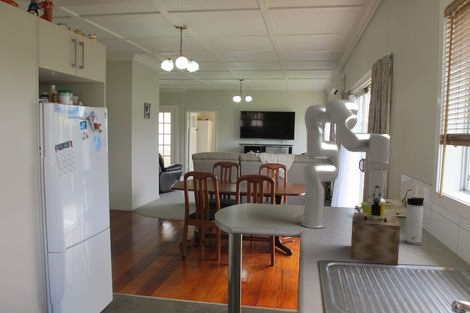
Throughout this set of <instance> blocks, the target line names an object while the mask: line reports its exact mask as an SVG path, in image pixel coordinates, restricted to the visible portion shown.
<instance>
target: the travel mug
mask: <svg viewBox="0 0 470 313" xmlns="http://www.w3.org/2000/svg"><path fill="white" fill-rule="evenodd" d="M406 200H407V201H406V214H405V230H404V231H405V232H404V234H405V235H404V243H406V244H409V245H414V246H415V245H416V246H419V245H421V244H422V236H423V234H422V232H423V218H424V217H423V216H424V201H425V198H424V197H407V199H406Z"/></svg>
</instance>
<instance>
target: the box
mask: <svg viewBox="0 0 470 313" xmlns="http://www.w3.org/2000/svg"><path fill="white" fill-rule="evenodd" d="M400 229H401V226H400V222H399V218H398V216H396V215H395V216H393V215H385V214H384V222H378V221H368V220H367V214H366V213H363V212H354V213H353V217H352V222H351V238H350V239H351V244H350V259H353V260H360V261H365V262H366V261H367V262H374V263H380V264H388V265H393V266H399V253H400V252H399V250H400V235H401V230H400Z"/></svg>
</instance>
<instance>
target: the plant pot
mask: <svg viewBox="0 0 470 313" xmlns="http://www.w3.org/2000/svg"><path fill="white" fill-rule="evenodd" d="M367 203H368V201H363V202H360V206H361V209H362V213H366V214H367Z"/></svg>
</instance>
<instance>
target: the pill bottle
mask: <svg viewBox="0 0 470 313" xmlns="http://www.w3.org/2000/svg"><path fill="white" fill-rule="evenodd" d="M374 196H375V195H374ZM379 197H380V195H379ZM367 202H368V203H367V220H368V221H378V222H384V215H385V210H386V208H385V206H386V200H385V199H384V197H382V198H381V200H380V205H381V214H380V216H374V215H371V207H372V202H373V195H372V196H370V197H369V198H368V199H367Z"/></svg>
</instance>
